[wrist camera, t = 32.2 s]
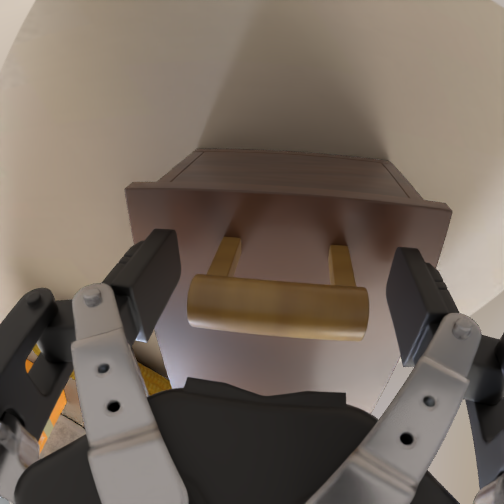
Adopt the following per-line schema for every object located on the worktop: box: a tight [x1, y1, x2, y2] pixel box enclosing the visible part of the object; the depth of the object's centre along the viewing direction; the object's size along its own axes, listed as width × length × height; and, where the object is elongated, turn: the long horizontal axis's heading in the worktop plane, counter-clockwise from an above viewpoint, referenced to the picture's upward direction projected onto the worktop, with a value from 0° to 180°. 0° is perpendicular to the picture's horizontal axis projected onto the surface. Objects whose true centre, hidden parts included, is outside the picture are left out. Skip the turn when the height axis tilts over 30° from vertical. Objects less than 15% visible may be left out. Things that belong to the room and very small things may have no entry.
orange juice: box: [25, 359, 67, 455], centre depth 35 cm, size 8×9×20 cm
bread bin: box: [157, 149, 424, 200], centre depth 20 cm, size 16×13×9 cm
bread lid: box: [125, 182, 452, 414], centre depth 14 cm, size 16×13×5 cm
